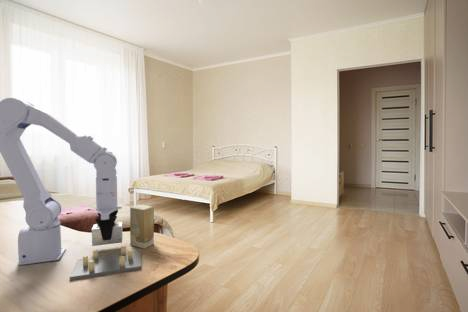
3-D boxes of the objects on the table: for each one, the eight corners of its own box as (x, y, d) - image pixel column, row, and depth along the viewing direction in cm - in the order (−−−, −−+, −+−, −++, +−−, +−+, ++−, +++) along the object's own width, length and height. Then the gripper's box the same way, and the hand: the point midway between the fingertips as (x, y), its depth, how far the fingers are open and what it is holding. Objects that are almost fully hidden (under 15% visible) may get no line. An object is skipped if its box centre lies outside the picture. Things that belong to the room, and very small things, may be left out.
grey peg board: (69, 280, 64) (69, 266, 64) (77, 262, 73) (77, 250, 73) (141, 269, 70) (140, 256, 69) (140, 253, 79) (140, 242, 79)
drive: (92, 246, 79) (91, 228, 78) (94, 240, 83) (93, 224, 83) (121, 242, 81) (121, 226, 81) (122, 237, 86) (122, 221, 85)
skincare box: (129, 245, 85) (128, 206, 85) (140, 240, 89) (139, 203, 88) (144, 249, 82) (143, 209, 82) (155, 244, 86) (154, 206, 85)
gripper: (120, 196, 76) (121, 243, 77) (122, 187, 89) (122, 227, 90) (91, 197, 73) (93, 247, 74) (98, 188, 87) (99, 230, 88)
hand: (107, 236), depth 82 cm, fingers closed on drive, 4 cm apart
